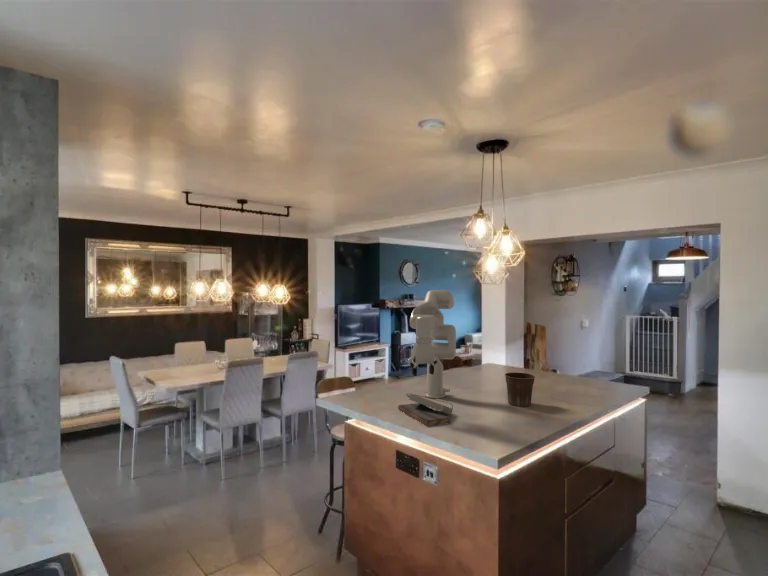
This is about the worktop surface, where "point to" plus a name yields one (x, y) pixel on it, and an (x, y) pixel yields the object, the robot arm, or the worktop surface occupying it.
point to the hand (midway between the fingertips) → (423, 374)
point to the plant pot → (519, 388)
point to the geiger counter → (430, 403)
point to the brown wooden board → (424, 414)
